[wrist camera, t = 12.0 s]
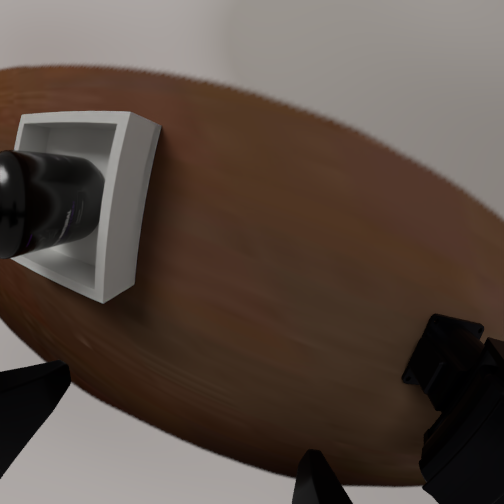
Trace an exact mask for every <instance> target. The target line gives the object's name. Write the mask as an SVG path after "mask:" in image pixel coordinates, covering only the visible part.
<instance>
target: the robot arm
mask: <svg viewBox="0 0 504 504" xmlns="http://www.w3.org/2000/svg"><path fill="white" fill-rule="evenodd" d="M435 319H437V321H436V322H434V320H435ZM479 329H480V330H479ZM478 330H479V331H478ZM483 331H484V326H483V325H482V324H480V323H475V322H471V321H466V320H462V319H458V318H453V317H449V316H444V315H440V314H433V315H432V316H431V317H430V319H429V322H428V324H427V326H426V329H425V331H424V333H423V335H422V337H421V339H420V340H419V343H418V345H417V347H416V349H415V351H414V353H413V355H412V357H411V359H410V361H409V363H408V366H407V368H406V370H405V372H404V373H403V375H402V380H403V382H404V383H407V384H416V385H420V387H421V388H422V390H423V392H424V393H425V394H427V395H428V397H429V399H430V401H431V403H432V405H433V406H434V408H435V410H436V411H441V413H442V414H441V415H440V416H439V418H438V419H437V420H436V422H435V423H434V424H433V425H432V427H431V428H430V429H428V430H427V431H426V432H425V434H424V446H423V448H422V456H421V458H422V459H421V460H420V461H419V466H420V470H421V473H422V475H423V477H424V479H425V481H426V482H427V483H426V484H424V485H423V486H422V488H423V490H425V491H426V492H427V493H429V494H430V495H431V496H433V498H434V499H435V500H436V501H437V502H438V503H439V504H504V341H500V340H497V339H493V338H490V337H488V338H487V340H486V342H485V344H483V343H482V342H481V341H480V338H481V336H482V333H483ZM407 377H408V378H407ZM70 384H71V376H70V370H69V366H68V364H66V363H65V362H63V361H61V360H56V361H52V362H47V363H43V364H38V365H34V366H28V367H24V368H18V369H13V370H7V371H2V372H0V479H1V477H2V476H3V474H4V473H5V472H6V470H7V469H8V468H9V466H10V465H11V464H12V462H13V461H14V460H15V458H16V457H17V456H18V454H19V453H20V452H21V451H22V449H23V448H24V447H25V445H26V444H27V443H28V442H29V440H30V439H31V438H32V437H33V435H34V434H35V433H36V431H37V430H38V429H39V428H40V427H41V425H42V424H43V423H44V422H45V420H46V419H47V418H48V417H49V415H50V414H51V413H52V412H53V410H54V409H55V407H56V406H57V404H58V403H59V401H60V399H61V398H62V397H63V395H64V393H65V392H66V390H67V389H68V387H69V386H70ZM292 504H353V503H352V501H351V500H350V498H349V497H348V495H347V493H346V492H345V490H344V489H343V487H342V485H341V484H340V482H339V480H338V479H337V477H336V476H335V474H334V472H333V471H332V469H331V467H330V466H329V464H328V462H327V461H326V459H325V457H324V456H323V454H322V452H321V451H319V450H314V449H309V450H307V452H306V453H305V455H304V456H303V458H302V459H301V461H300V463H299V466H298V471H297V477H296V483H295V488H294V494H293V499H292Z"/></svg>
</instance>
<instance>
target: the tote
mask: <svg viewBox="0 0 504 504" xmlns="http://www.w3.org/2000/svg"><path fill="white" fill-rule="evenodd" d="M161 127H162V126H161V125H159V124H157V123H154V122H152V121H150V120H148V119H146V118H143V117H141V116H139V115H137V114H134V113H132V112H120V111H71V112H50V113H37V114H26V115H22V116H21V120H20V124H19V129H18V133H17V138H16V143H15V148H14V150H19V151H31V152H41V153H51V154H60V155H68V156H75V157H81V158H85V159H87V160H89V161H90V162H92V163H93V164H94V165H95V166H96V167H97V169H98V170H99V172H100V174H101V176H102V179H103V182H104V191H103V197H102V204H101V212H100V220H99V224H98V225H97V227H96V228H95V230H94V231H93V232H92V233H91V234H90V235H88V236H87V237H85V238H83V239H80V240H77V241H73V242H70V243H66V244H62V245H58V246H54V247H50V248H46V249H42V250H39V251H35V252H31V253H28V254H24V255H21V256H17V257H13V258H11V259H13V260H14V261H16V262H18V263H20V264H22V265H23V266H25V267H27V268H29V269H31V270H33V271H35V272H37V273H39V274H41V275H42V276H44V277H46V278H48V279H50V280H52V281H54V282H56V283H59V284H61V285H63V286H65V287H67V288H69V289H71V290H73V291H75V292H78V293H80V294H82V295H84V296H86V297H89V298H91V299H93V300H95V301H98V302H100V303H102V304H104V303H105V302H107V301H108V300H110V299H112V298H113V297H115V296H117V295H118V294H120V293H121V292H123V291H125V290H126V289H128V288H130V287H131V286H133V285H134V284H135V273H136V264H137V255H138V247H139V240H140V232H141V225H142V219H143V213H144V207H145V201H146V195H147V190H148V184H149V179H150V174H151V170H152V165H153V160H154V156H155V151H156V147H157V143H158V139H159V134H160V130H161Z"/></svg>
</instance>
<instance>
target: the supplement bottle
mask: <svg viewBox="0 0 504 504" xmlns="http://www.w3.org/2000/svg"><path fill="white" fill-rule="evenodd" d="M103 191H104V182H103V179H102V176H101V174H100V172H99V170H98V169H97V167H96V166H95V165H94V164H93V163H92V162H90V161H89V160H87V159H85V158H81V157H75V156H68V155H60V154H51V153H41V152H31V151H19V150H4V151H1V152H0V258H1V259H9V258H13V257H17V256H21V255H24V254H28V253H31V252H35V251H39V250H42V249H46V248H50V247H54V246H58V245H62V244H66V243H70V242H73V241H77V240H80V239H83V238H85V237H87V236H88V235H90V234H91V233H92V232H93V231H94V230H95V228H96V227H97V225H98V224H99V220H100V212H101V204H102V197H103Z"/></svg>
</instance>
